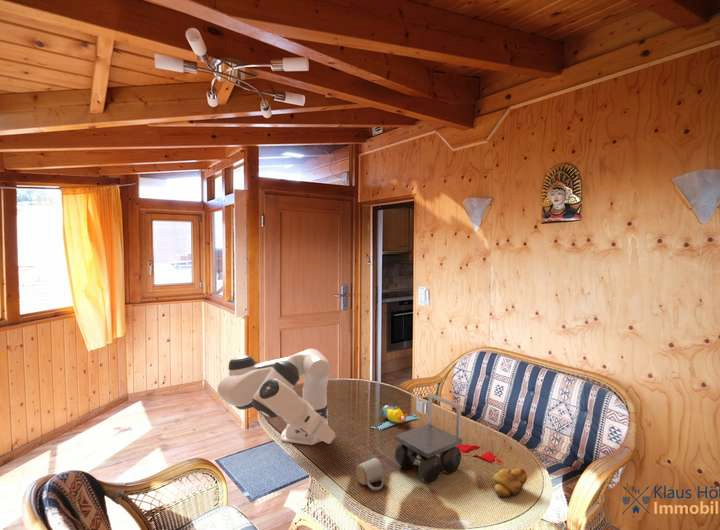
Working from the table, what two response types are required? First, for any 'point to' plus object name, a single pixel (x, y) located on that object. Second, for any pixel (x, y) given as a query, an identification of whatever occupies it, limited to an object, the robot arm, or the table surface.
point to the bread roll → (509, 481)
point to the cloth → (468, 448)
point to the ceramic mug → (370, 473)
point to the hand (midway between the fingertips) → (326, 436)
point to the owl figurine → (394, 416)
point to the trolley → (430, 446)
